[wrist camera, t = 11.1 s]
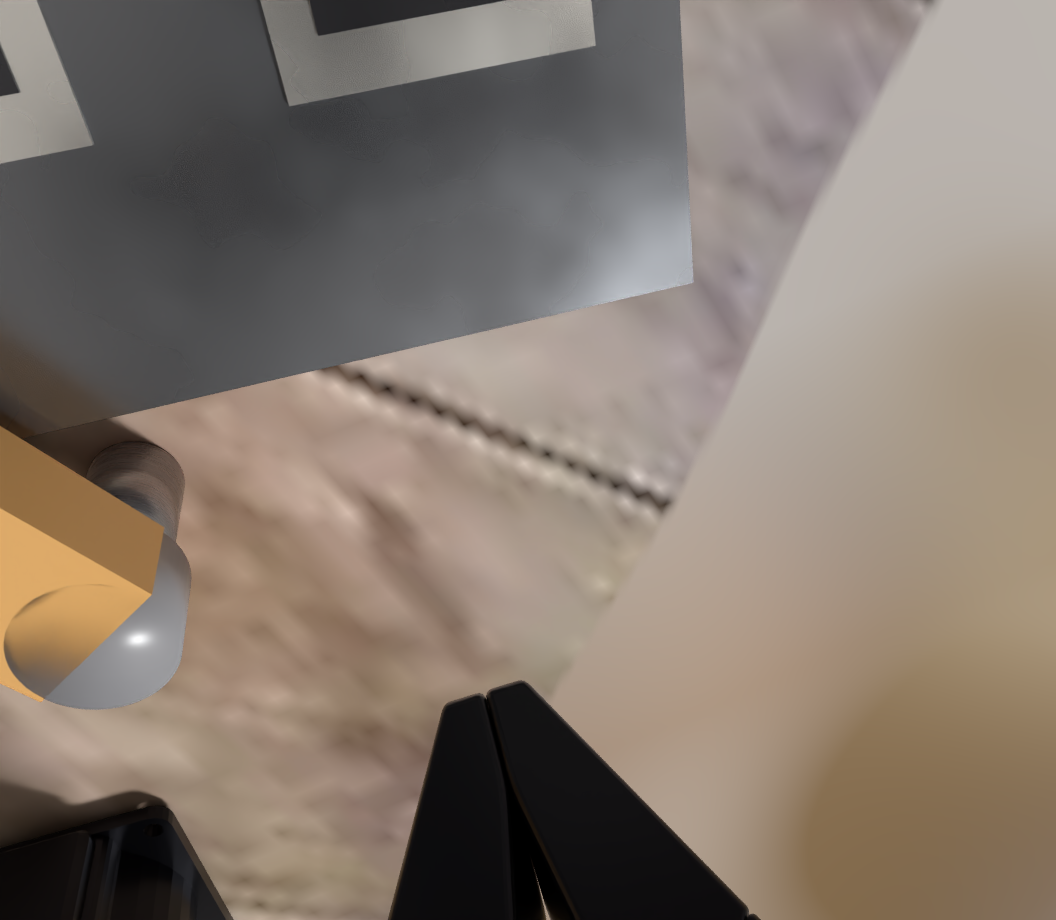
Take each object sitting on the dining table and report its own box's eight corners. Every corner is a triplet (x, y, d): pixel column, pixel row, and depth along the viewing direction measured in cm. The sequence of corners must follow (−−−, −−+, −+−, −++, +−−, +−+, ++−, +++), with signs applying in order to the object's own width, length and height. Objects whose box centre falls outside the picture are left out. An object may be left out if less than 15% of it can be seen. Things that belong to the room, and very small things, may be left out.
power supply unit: (654, 394, 22) (705, 460, 20) (-29, 562, 20) (-75, 661, 18) (563, -751, 13) (639, -928, 10) (-755, -629, 11) (-1099, -806, 8)
